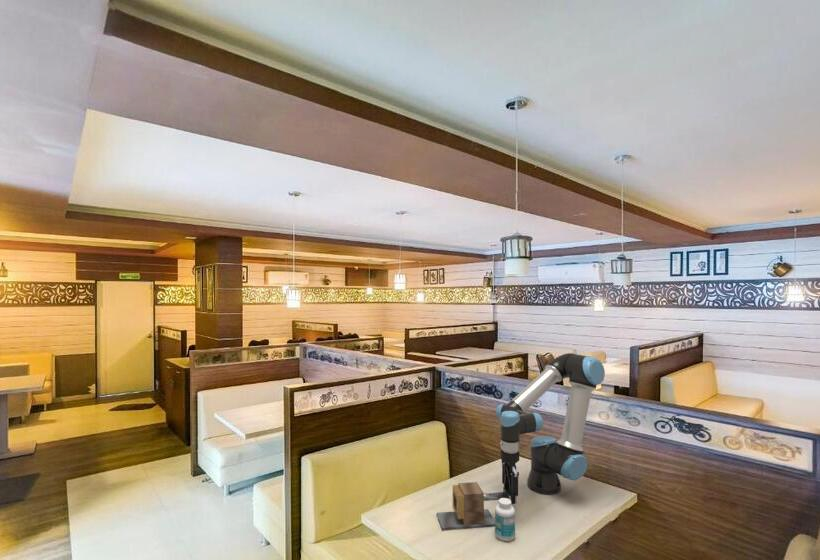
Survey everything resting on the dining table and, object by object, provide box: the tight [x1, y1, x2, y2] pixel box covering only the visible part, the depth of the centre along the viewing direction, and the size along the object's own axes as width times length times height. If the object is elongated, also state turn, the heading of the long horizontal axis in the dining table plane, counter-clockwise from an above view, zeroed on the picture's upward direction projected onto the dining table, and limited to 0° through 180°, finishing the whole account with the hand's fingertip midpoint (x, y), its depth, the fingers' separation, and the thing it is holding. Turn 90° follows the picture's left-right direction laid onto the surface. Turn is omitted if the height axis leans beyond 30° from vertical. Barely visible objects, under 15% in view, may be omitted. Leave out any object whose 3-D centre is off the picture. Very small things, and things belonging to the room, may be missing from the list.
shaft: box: [483, 486, 510, 502], centre depth 171 cm, size 23×4×5 cm, turn 97°
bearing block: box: [436, 481, 495, 531], centre depth 169 cm, size 22×11×13 cm, turn 97°
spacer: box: [452, 484, 464, 519], centre depth 169 cm, size 2×9×9 cm, turn 7°
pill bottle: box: [494, 498, 516, 542], centre depth 159 cm, size 8×7×14 cm
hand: (509, 507), depth 172 cm, fingers closed on shaft, 4 cm apart
